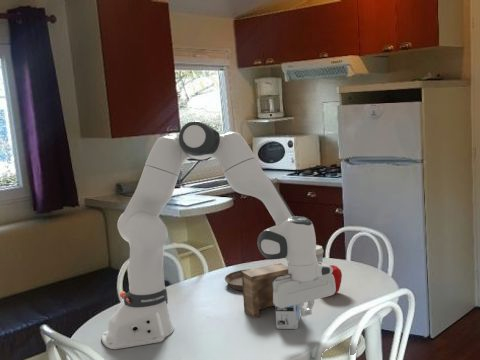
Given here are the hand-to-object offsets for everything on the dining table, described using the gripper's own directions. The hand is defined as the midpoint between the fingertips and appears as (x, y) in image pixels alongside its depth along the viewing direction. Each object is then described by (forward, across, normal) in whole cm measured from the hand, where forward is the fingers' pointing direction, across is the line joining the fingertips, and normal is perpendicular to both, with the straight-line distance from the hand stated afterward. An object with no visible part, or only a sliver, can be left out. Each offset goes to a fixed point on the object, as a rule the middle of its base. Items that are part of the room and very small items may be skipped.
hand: (306, 314), depth 174 cm
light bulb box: (+6, -1, +10) cm, 12 cm away
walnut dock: (+6, 0, +24) cm, 25 cm away
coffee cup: (+6, +31, +45) cm, 55 cm away
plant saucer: (+6, +7, +52) cm, 53 cm away
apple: (+6, +24, +25) cm, 35 cm away
